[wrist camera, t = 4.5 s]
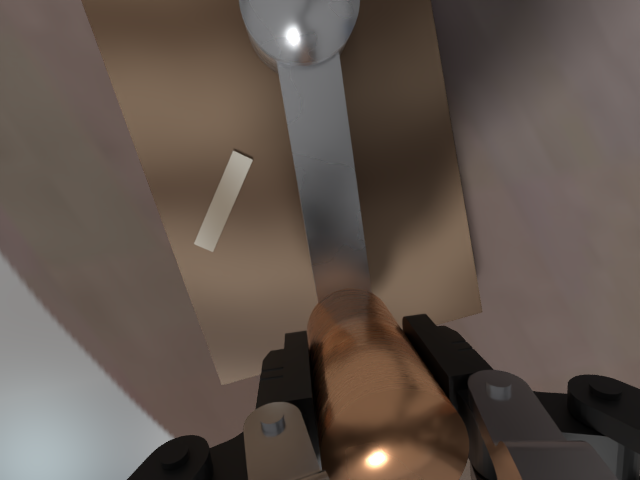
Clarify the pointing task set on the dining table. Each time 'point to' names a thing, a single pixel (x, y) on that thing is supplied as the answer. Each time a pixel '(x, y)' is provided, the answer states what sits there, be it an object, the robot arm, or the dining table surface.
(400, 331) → the lever
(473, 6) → the dining table surface
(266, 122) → the lever board
